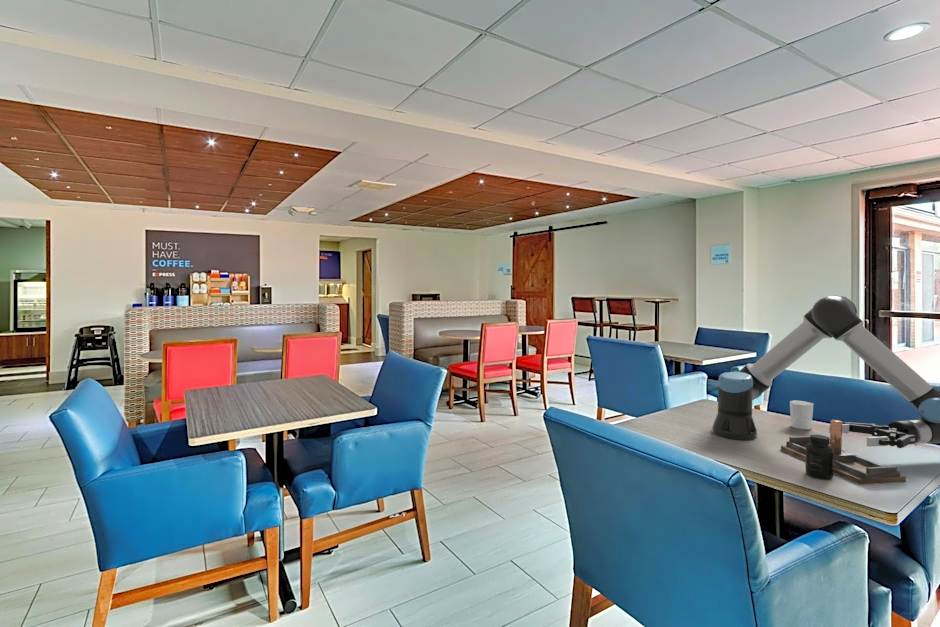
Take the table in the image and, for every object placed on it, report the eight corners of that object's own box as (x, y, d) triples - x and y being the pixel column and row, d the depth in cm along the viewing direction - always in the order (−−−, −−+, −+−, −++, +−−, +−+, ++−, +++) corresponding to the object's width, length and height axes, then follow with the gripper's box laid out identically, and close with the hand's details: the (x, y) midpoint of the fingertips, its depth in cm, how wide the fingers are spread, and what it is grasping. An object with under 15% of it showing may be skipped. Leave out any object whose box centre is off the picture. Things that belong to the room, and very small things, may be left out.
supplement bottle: (839, 479, 142) (840, 439, 142) (817, 480, 142) (818, 440, 141) (820, 470, 149) (821, 432, 149) (799, 471, 149) (800, 433, 148)
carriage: (855, 461, 152) (856, 423, 152) (834, 462, 151) (835, 424, 151) (835, 453, 159) (836, 417, 159) (816, 454, 158) (817, 418, 158)
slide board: (905, 481, 140) (906, 466, 140) (859, 484, 139) (859, 469, 139) (820, 447, 170) (820, 435, 170) (781, 450, 169) (781, 437, 168)
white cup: (817, 430, 191) (818, 405, 191) (797, 430, 192) (798, 405, 191) (804, 424, 199) (804, 400, 199) (784, 424, 199) (785, 400, 199)
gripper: (949, 457, 145) (885, 460, 143) (871, 432, 170) (816, 435, 167) (950, 432, 144) (886, 435, 142) (872, 411, 169) (816, 413, 167)
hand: (848, 435), depth 155 cm, fingers open, 13 cm apart
